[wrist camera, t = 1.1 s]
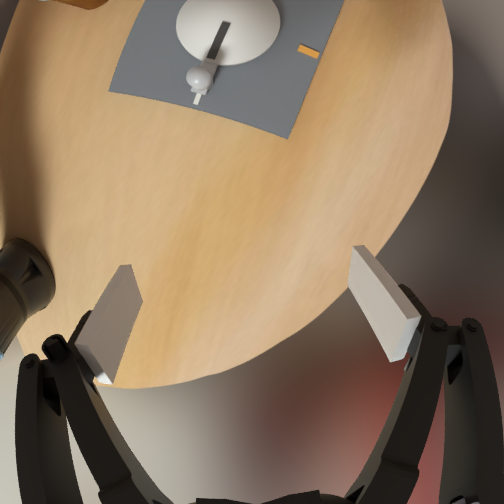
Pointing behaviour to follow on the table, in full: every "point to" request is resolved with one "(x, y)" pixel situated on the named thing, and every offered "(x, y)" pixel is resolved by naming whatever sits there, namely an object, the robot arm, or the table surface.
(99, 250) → the table surface
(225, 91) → the panel
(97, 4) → the disposable coffee cup
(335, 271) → the table surface
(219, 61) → the dial
